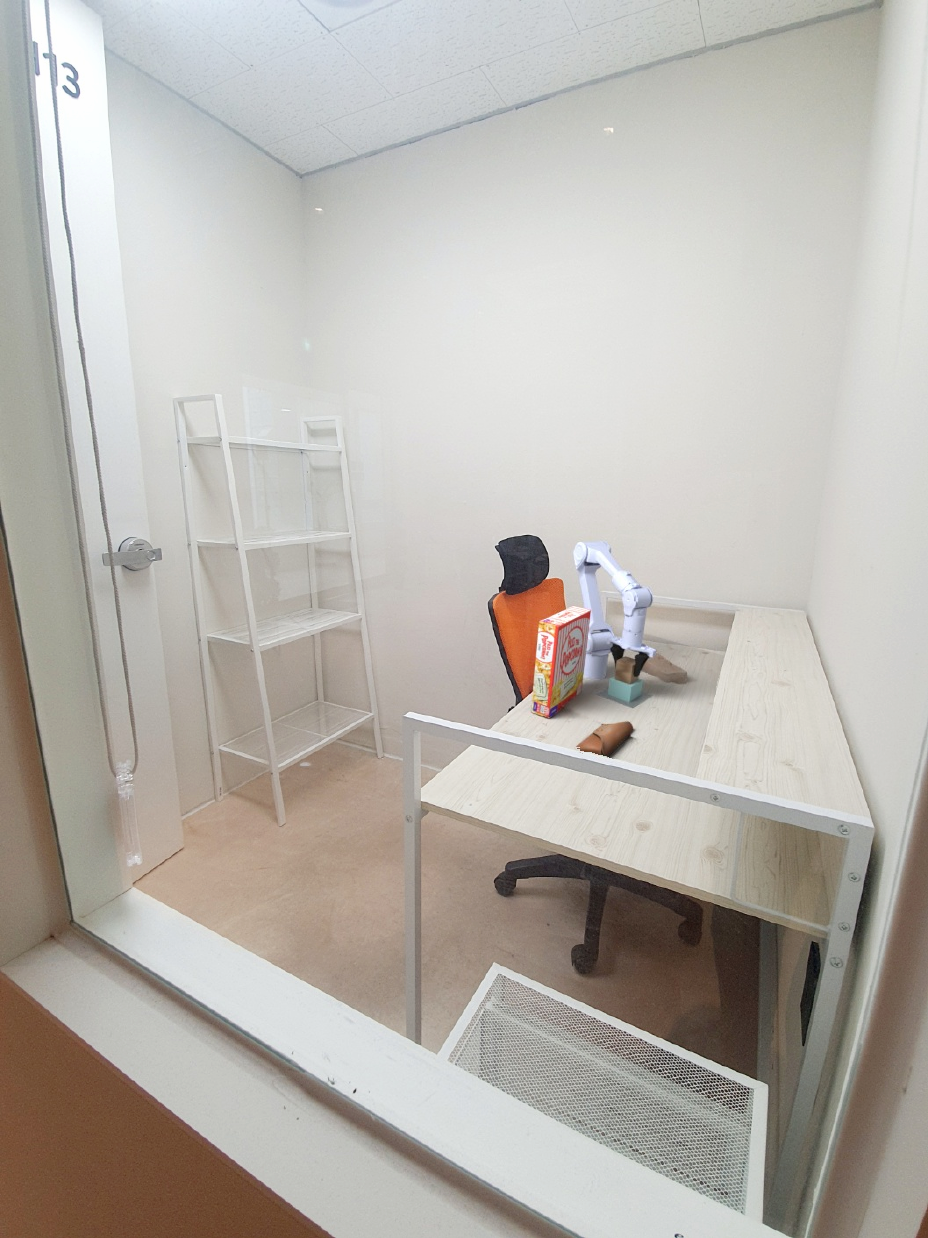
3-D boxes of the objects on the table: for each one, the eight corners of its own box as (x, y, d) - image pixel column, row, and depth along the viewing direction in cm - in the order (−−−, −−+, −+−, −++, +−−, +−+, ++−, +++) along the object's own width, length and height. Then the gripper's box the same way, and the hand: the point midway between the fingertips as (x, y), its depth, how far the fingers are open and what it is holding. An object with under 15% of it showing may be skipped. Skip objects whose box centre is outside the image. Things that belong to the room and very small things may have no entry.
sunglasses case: (602, 722, 145) (617, 707, 141) (622, 741, 142) (637, 727, 138) (571, 750, 131) (587, 734, 127) (593, 772, 129) (609, 756, 125)
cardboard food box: (549, 719, 145) (558, 626, 137) (529, 712, 149) (536, 621, 140) (582, 694, 161) (591, 608, 152) (563, 688, 165) (571, 604, 156)
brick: (687, 683, 171) (689, 670, 169) (665, 686, 168) (667, 673, 167) (654, 664, 186) (656, 651, 184) (634, 666, 183) (636, 653, 182)
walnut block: (614, 679, 157) (616, 660, 156) (622, 674, 161) (625, 656, 159) (629, 684, 154) (632, 665, 152) (638, 679, 158) (640, 661, 156)
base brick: (607, 694, 159) (609, 679, 157) (619, 687, 164) (621, 672, 162) (629, 702, 154) (631, 686, 153) (640, 695, 159) (643, 679, 158)
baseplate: (595, 697, 159) (596, 694, 159) (616, 685, 167) (616, 682, 167) (632, 711, 151) (632, 708, 151) (652, 698, 159) (652, 695, 159)
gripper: (603, 625, 155) (598, 668, 159) (650, 639, 145) (643, 684, 149) (616, 620, 159) (610, 662, 164) (662, 633, 150) (655, 677, 154)
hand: (627, 672), depth 157 cm, fingers open, 5 cm apart
